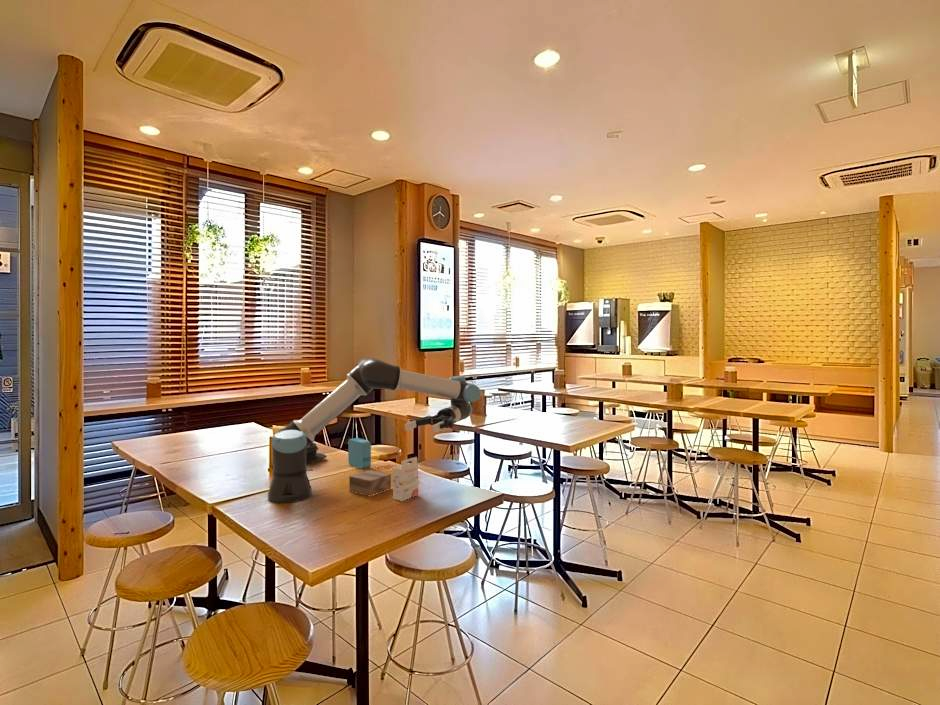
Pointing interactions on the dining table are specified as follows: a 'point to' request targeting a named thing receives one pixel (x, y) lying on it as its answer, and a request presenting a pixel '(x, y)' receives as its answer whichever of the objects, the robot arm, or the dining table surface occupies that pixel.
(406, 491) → the ink cartridge box
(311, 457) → the casserole
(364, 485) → the walnut block
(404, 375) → the robot arm
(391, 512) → the dining table surface
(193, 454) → the dining table surface
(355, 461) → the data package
